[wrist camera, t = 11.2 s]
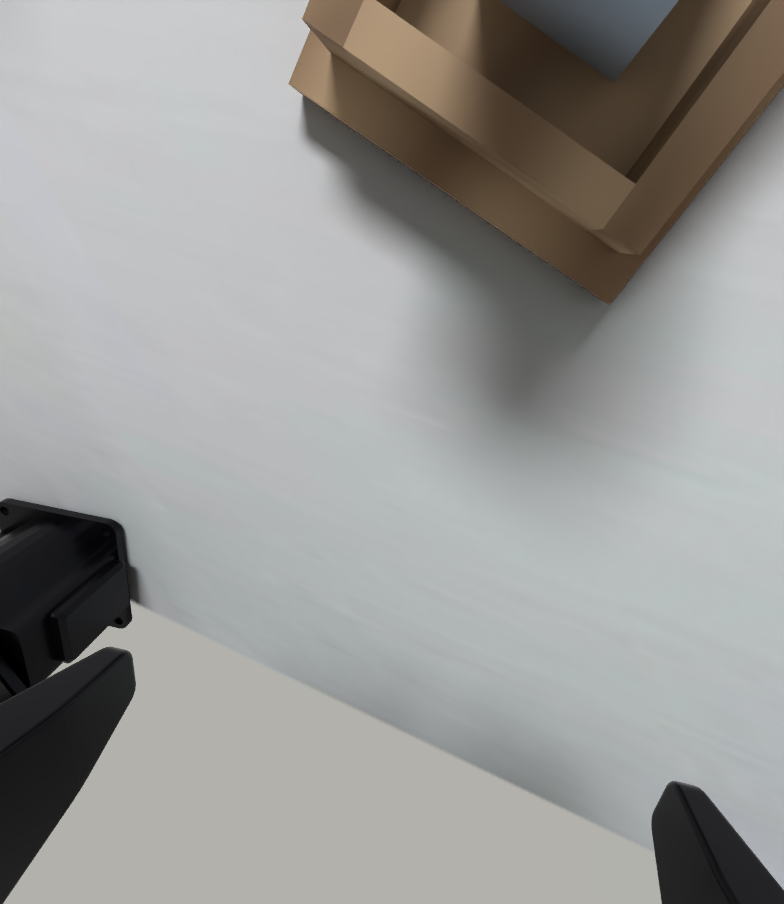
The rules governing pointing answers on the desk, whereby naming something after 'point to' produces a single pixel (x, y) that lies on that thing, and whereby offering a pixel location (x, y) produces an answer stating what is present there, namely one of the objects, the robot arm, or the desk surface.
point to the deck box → (597, 27)
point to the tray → (549, 115)
